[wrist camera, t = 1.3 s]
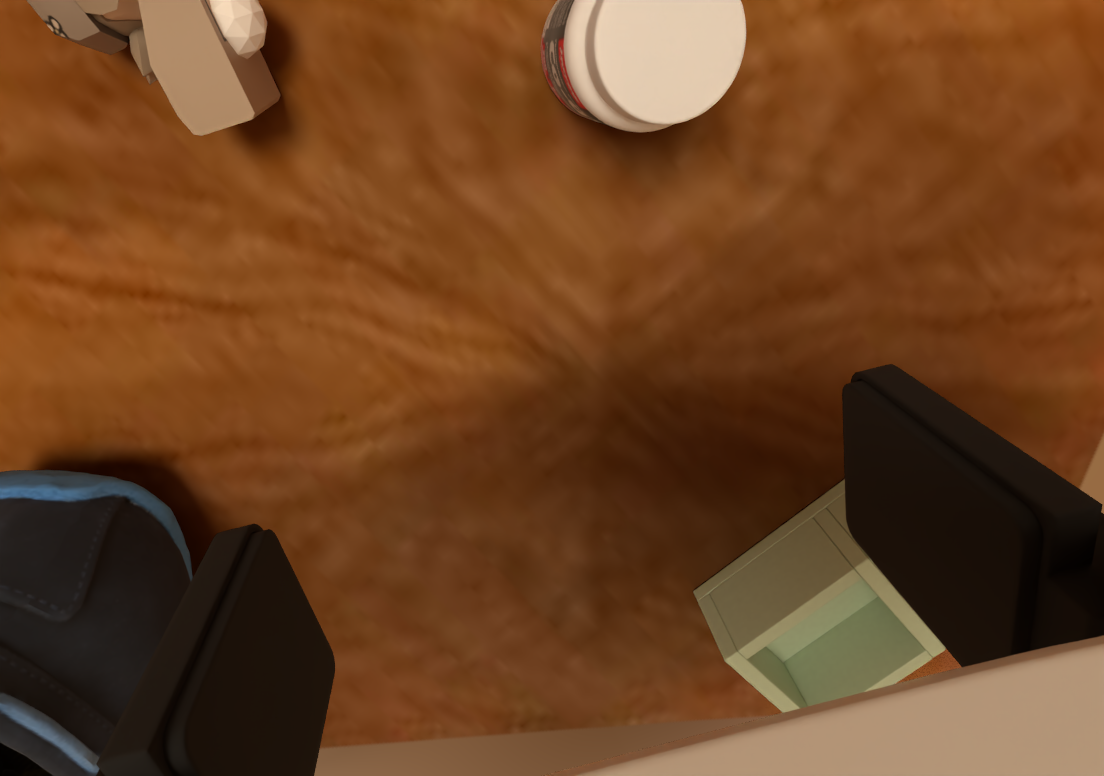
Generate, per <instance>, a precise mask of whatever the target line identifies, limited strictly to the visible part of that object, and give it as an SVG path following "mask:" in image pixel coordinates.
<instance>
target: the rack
mask: <svg viewBox="0 0 1104 776" xmlns="http://www.w3.org/2000/svg"><path fill="white" fill-rule="evenodd" d="M693 593H694V595H695V597H696V599H697V601H698V604H699V606H700V608H701V610H702V613H703V615H704V617H705V619H706V621H707V624H708V626H709V628H710V630H711V632H712V634H713V637H714V639H715V641H716V643H717V645H718V648H719V650H720V652H721V654H722V656H723V658H724V661H725V662H727V663H728V664H729V665H730V666H731V667H732V668H733V669H734V670H735V671H737V672H738V673H739V674H740V675H741V676H742V677H743V678H744V679H746V680H747V681H748V682H749V683H750V684H751V685H752V686H753V687H755V688H756V689H757V690H758V691H759V692H760V693H761V694H762V695H764V696H765V697H766V698H767V699H768V700H769V701H770V702H771V703H773V704H774V705H775V706H776V707H777V708H778V709H779V710H780V711H782V712H783V713H784V712H788V711H792V710H796V709H800V708H804V707H808V706H811V705H815V704H819V703H823V702H827V701H831V700H835V699H839V698H843V697H847V696H851V695H854V694H858V693H862V692H866V691H870V690H874V689H878V688H882V687H886V686H890V685H893V684H895V683H897V682H898V681H900V680H901V679H903V678H904V677H906V676H907V675H909V674H910V673H912V672H913V671H915V670H916V669H918V668H919V667H921V666H922V665H924V664H925V663H927V662H928V661H930V660H931V659H932V657H935V656H937V655H938V654H940V653H941V652H943V651H944V650H945V648H946V647H945V646H944V645H943V644H942V643H941V641H940V640H939V639H938V638H937V637H936V636H935V634H934V633H933V632H932V631H931V630H930V629H929V627H928V626H927V625H926V624H925V623H924V621H923V620H922V619H921V618H920V617H919V616H918V614H917V613H916V612H915V611H914V610H913V608H912V607H911V606H910V605H909V604H908V603H907V601H906V600H905V599H904V598H903V597H902V595H901V594H900V593H899V592H898V591H897V590H896V588H895V587H894V586H893V585H892V584H891V582H890V581H889V580H888V579H887V578H886V577H885V575H884V574H883V573H882V572H881V571H880V570H879V568H878V567H877V566H876V565H875V564H874V562H873V561H872V560H871V559H870V558H869V557H868V555H867V554H866V553H865V552H864V551H863V549H862V548H861V547H860V546H859V545H858V544H857V542H856V541H855V540H854V538H853V537H852V535H851V533H850V531H849V528H848V526H847V522H846V507H845V479H844V480H843V481H841V482H840V483H838V484H837V485H836V486H834V487H833V488H832V489H830V490H829V491H828V492H826V493H825V494H824V495H822V496H821V497H820V498H818V499H817V500H816V501H814V502H813V503H812V504H810V505H809V506H807V507H806V508H805V509H803V510H802V511H801V512H799V513H798V514H797V515H795V516H794V517H793V518H791V519H790V520H789V521H787V522H786V523H785V524H783V525H782V526H780V527H779V528H778V529H776V530H775V531H774V532H772V533H771V534H770V535H768V536H767V537H766V538H764V539H763V540H762V541H760V542H759V543H758V544H756V545H755V546H754V547H752V548H751V549H749V550H748V551H747V552H745V553H744V554H743V555H741V556H740V557H739V558H737V559H736V560H735V561H733V562H732V563H731V564H729V565H728V566H727V567H725V568H724V569H723V570H721V571H720V572H718V573H717V574H716V575H714V576H713V577H712V578H710V579H709V580H708V581H706V582H705V583H704V584H702V585H701V586H700V587H698V588H697V589H696V590H694V591H693Z"/></svg>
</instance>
